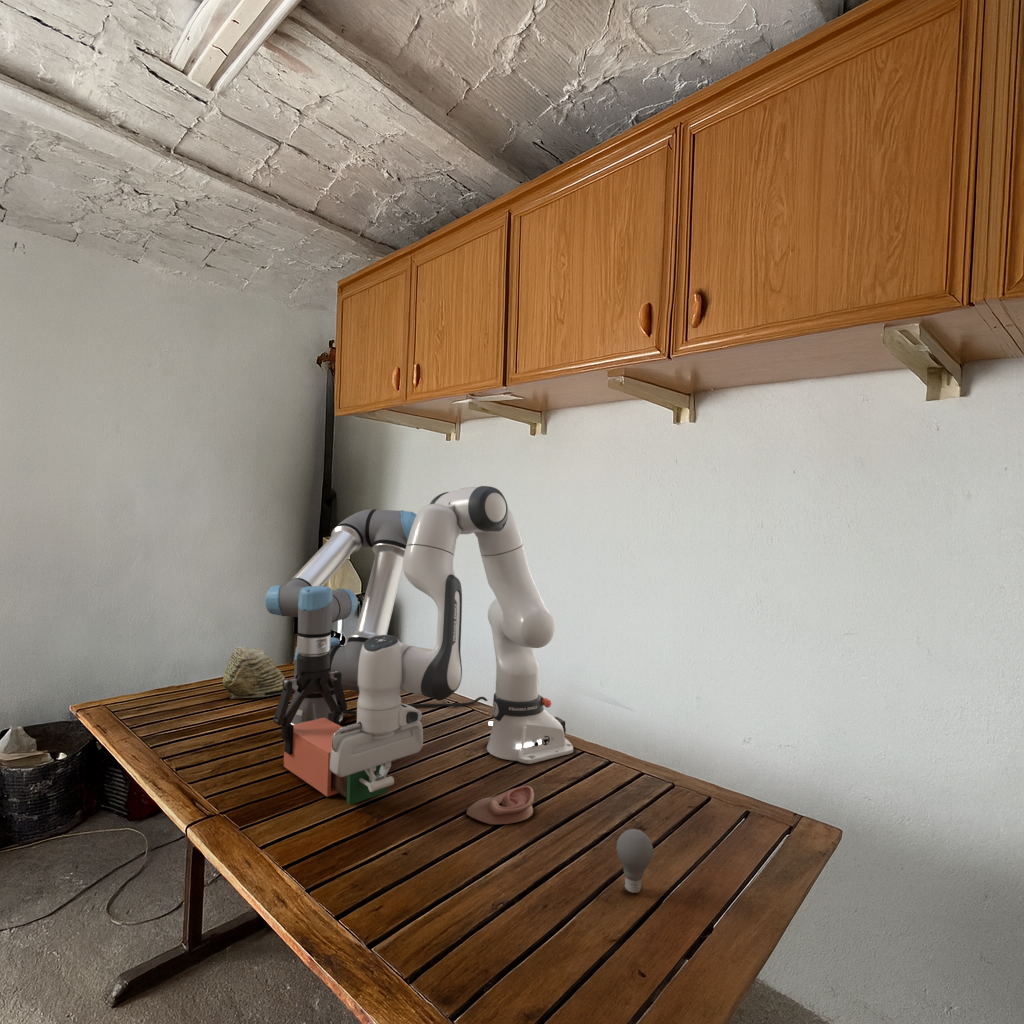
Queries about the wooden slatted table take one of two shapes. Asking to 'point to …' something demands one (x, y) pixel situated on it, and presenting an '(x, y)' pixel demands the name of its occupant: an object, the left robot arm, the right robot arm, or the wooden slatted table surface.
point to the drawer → (360, 785)
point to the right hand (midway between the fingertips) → (377, 784)
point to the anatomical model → (504, 807)
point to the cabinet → (313, 753)
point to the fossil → (252, 674)
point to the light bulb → (634, 857)
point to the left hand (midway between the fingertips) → (310, 746)
